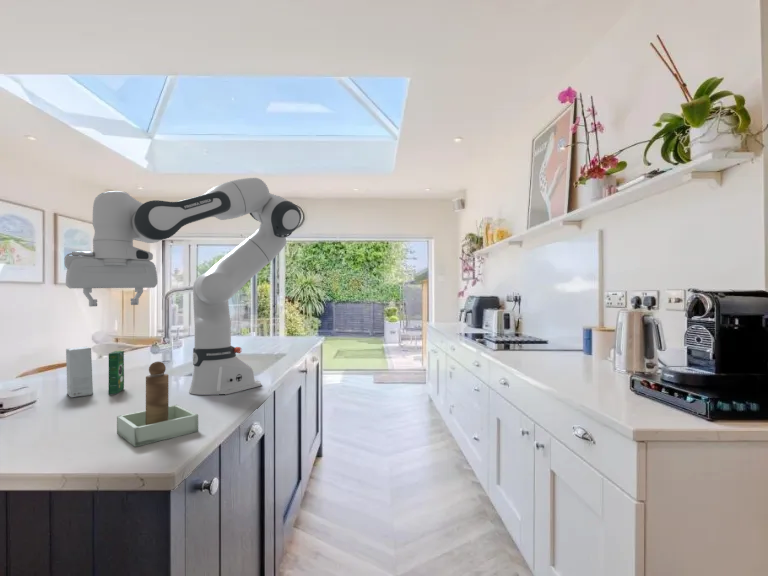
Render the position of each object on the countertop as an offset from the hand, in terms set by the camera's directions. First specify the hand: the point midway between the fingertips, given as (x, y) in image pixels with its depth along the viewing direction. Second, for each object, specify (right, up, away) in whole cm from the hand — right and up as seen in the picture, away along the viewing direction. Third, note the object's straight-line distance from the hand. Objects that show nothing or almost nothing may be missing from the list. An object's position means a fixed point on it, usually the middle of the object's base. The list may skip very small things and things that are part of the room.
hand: (114, 305), depth 109 cm
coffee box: (-16, -29, +26) cm, 43 cm away
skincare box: (-26, -30, +23) cm, 46 cm away
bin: (+19, -29, -14) cm, 37 cm away
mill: (+19, -28, -13) cm, 36 cm away
